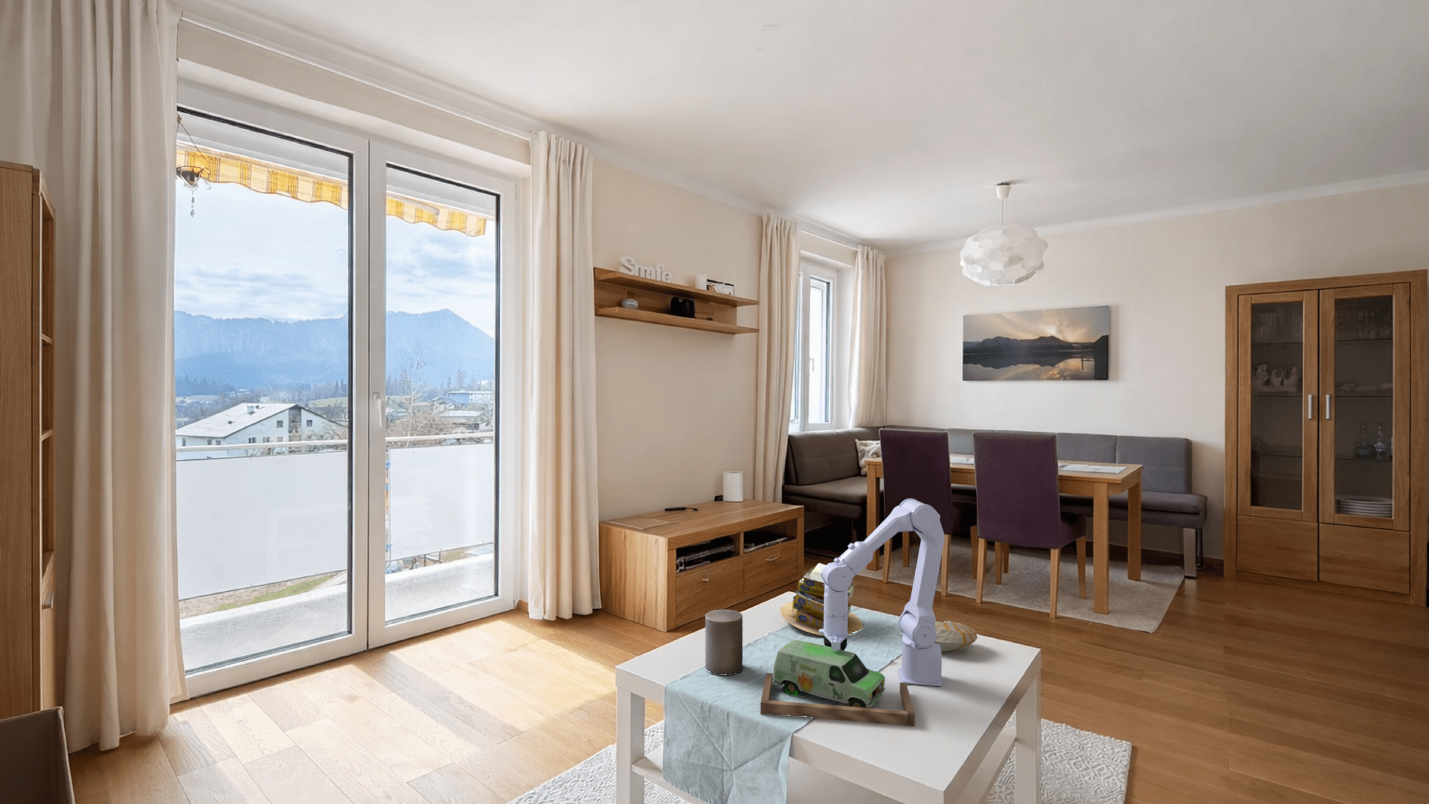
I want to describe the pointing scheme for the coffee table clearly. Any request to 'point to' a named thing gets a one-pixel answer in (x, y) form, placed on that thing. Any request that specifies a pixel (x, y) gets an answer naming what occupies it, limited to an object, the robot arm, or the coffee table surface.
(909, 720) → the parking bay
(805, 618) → the stacked boxes on plate
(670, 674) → the coffee table surface
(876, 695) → the toy car
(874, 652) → the coffee table surface
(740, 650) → the pillar candle
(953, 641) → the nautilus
